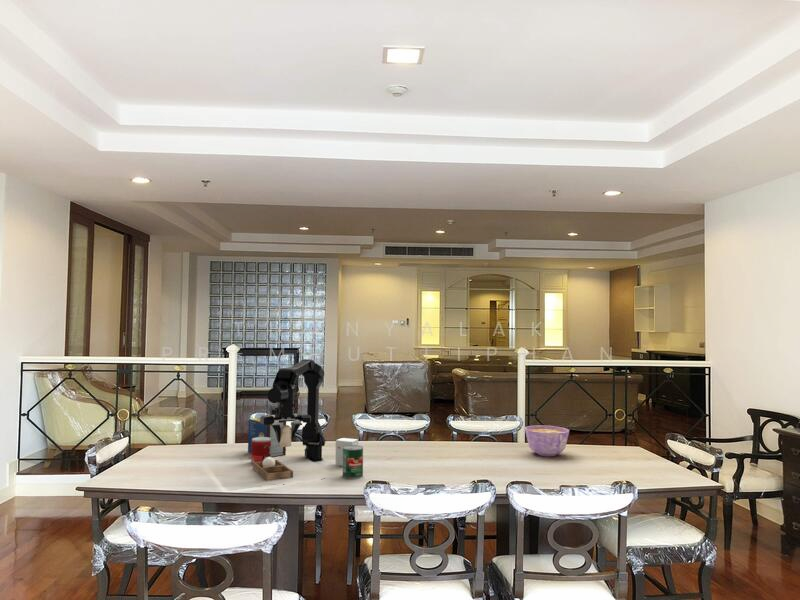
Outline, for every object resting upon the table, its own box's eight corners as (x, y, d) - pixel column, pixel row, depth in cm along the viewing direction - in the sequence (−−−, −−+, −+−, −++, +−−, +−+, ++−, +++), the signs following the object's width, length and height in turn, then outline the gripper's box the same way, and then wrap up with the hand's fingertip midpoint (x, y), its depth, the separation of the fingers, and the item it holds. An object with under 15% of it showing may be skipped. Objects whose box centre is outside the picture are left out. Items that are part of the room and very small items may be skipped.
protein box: (267, 449, 259) (267, 416, 260) (286, 455, 249) (286, 420, 250) (247, 453, 252) (248, 418, 253) (265, 458, 241) (266, 422, 242)
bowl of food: (575, 459, 245) (574, 433, 246) (529, 459, 246) (529, 432, 246) (562, 450, 265) (562, 425, 266) (520, 449, 266) (520, 425, 266)
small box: (358, 464, 232) (358, 439, 233) (351, 467, 227) (352, 441, 228) (341, 462, 236) (342, 437, 236) (335, 465, 231) (335, 439, 231)
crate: (277, 468, 224) (277, 459, 224) (292, 480, 207) (292, 471, 207) (252, 471, 219) (253, 462, 219) (266, 483, 202) (267, 474, 202)
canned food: (265, 468, 224) (266, 440, 225) (247, 467, 226) (248, 439, 227) (273, 464, 232) (274, 437, 233) (256, 462, 234) (256, 436, 234)
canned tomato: (352, 472, 220) (353, 444, 220) (367, 475, 215) (367, 447, 215) (338, 476, 214) (338, 447, 214) (352, 480, 209) (353, 450, 209)
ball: (273, 467, 221) (273, 455, 221) (276, 470, 216) (277, 457, 217) (260, 469, 218) (260, 456, 219) (264, 472, 214) (264, 459, 214)
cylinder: (288, 444, 217) (289, 423, 218) (292, 446, 213) (293, 425, 214) (277, 445, 215) (278, 424, 216) (281, 447, 211) (281, 426, 212)
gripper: (302, 398, 227) (301, 437, 226) (257, 399, 218) (255, 440, 217) (312, 400, 218) (310, 441, 216) (265, 402, 208) (263, 444, 207)
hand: (285, 441), depth 214 cm, fingers closed on cylinder, 5 cm apart
